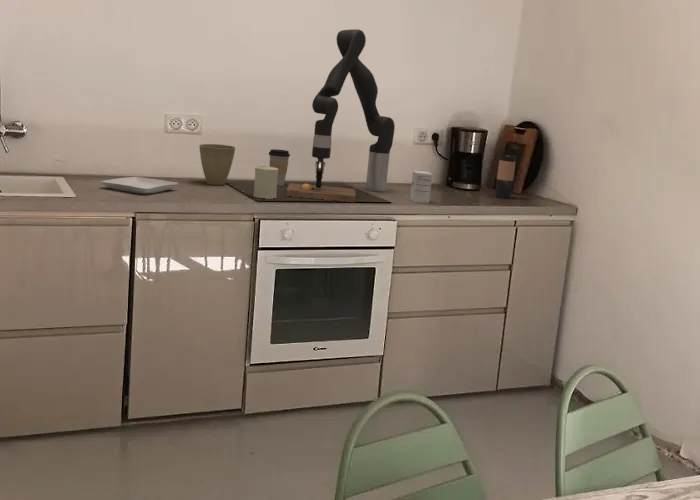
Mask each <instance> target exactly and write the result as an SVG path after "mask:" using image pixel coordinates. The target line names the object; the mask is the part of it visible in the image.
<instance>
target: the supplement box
mask: <svg viewBox="0 0 700 500" xmlns="http://www.w3.org/2000/svg"><path fill="white" fill-rule="evenodd" d="M432 180H433V173H431V172H430V171H423V170H413V171H412V178H411V187H410V195H409V196H410V197H409V199H410V201H412V202H413V203H419V204H420V203H421V204H429V203H430V197H431V190H432Z"/></svg>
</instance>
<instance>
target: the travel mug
mask: <svg viewBox="0 0 700 500" xmlns="http://www.w3.org/2000/svg"><path fill="white" fill-rule="evenodd" d="M516 161H517V155H512V154H504V153H503V154H500V155H499V161H498V168H497V173H496V182H495V183H496V184H495V193H494V197H495V196H496V197H495V198H497V197H500V198H499V199H502V198H510V199H511V195H512V189H513V184H514V177H515V170H516V163H517V162H516Z"/></svg>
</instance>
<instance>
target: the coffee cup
mask: <svg viewBox="0 0 700 500" xmlns="http://www.w3.org/2000/svg"><path fill="white" fill-rule="evenodd" d="M268 155H269V167H274V168H278V178H277V187H278V186H279V187H282V186H285V181H286V176H287V172H288V166H289V158H290V157H291V153H290V152H289V150H285V149H275V148H274V149H272V148H271V149H270V151H269V152H268Z"/></svg>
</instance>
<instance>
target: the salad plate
mask: <svg viewBox="0 0 700 500" xmlns="http://www.w3.org/2000/svg"><path fill="white" fill-rule="evenodd" d="M101 184H102V185H104V186H105V187H107V188H109V189H112V190H116V191H121V192H128V193H133V194H141V195H151V194H156V193H162V192H166V191H169V190H171V189H173V188H176V187H177V186H178V185H179V182H176V181H169V180H168V181H167V180H163V179H154V178H148V177H147V178H146V177H139V176H130V177H119V178H112V179H107V180H106V179H105V180H102V181H101Z"/></svg>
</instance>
